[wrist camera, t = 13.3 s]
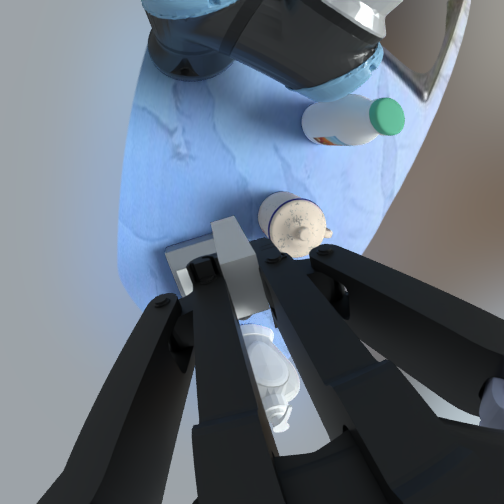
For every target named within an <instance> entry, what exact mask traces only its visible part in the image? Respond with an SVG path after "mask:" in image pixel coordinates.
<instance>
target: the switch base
mask: <svg viewBox="0 0 504 504" xmlns="http://www.w3.org/2000/svg"><path fill="white" fill-rule="evenodd" d="M216 252H217V251H216V247H215V242H214V237H213V233H211V234H208V235H204V236H201V237H198V238H195V239H191V240H188V241H185V242H182V243H178V244H175V245H172V246H169V247H166V251H165V256H166V258H167V261H168V263H169V266H170V269H171V271H172V274H173V276H174V279H175V281H176V284H177V286H178V289H179V291H180V293H181V296H182V298H183V297H185V296H187V295H188V294H190V293H191V292H192V291H193V284H192V282H191V279H190V276H189V274H188V271H187V268H186V266H187V264H188V263H189V262H190V261H192V260H193V259H195V258H198V257H200V256H204V255H210V254H213V253H216Z"/></svg>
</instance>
